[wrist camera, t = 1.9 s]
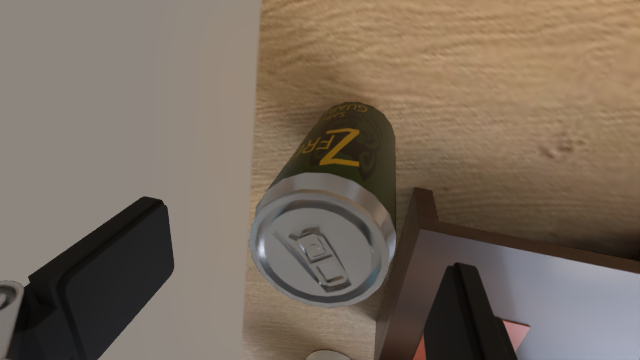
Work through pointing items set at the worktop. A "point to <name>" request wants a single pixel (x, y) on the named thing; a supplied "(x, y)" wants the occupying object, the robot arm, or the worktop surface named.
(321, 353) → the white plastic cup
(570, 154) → the worktop surface
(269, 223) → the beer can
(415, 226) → the shelf
